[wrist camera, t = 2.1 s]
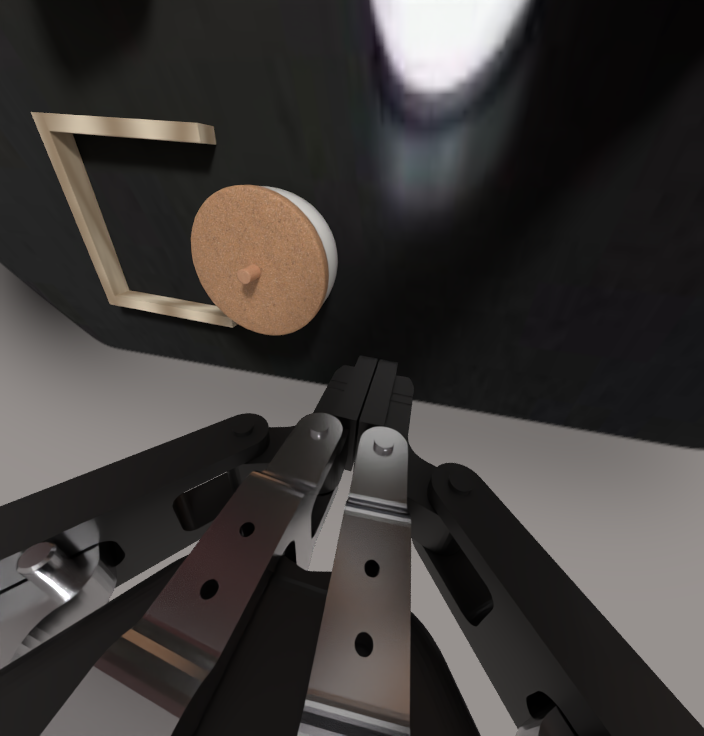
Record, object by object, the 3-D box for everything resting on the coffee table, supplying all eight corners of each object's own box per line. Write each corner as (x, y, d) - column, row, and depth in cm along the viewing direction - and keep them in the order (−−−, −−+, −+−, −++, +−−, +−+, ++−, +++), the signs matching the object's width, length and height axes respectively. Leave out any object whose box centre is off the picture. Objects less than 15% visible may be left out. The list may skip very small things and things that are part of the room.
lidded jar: (271, 310, 32) (219, 352, 25) (226, 201, 27) (143, 213, 20) (364, 293, 29) (336, 336, 21) (332, 164, 24) (281, 160, 16)
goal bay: (213, 126, 24) (197, 123, 23) (242, 320, 34) (232, 327, 32) (55, 115, 27) (30, 112, 25) (124, 298, 37) (110, 304, 35)
